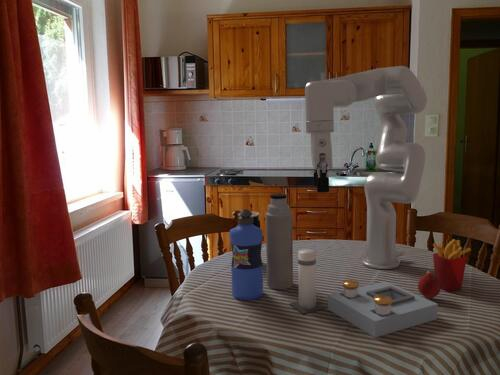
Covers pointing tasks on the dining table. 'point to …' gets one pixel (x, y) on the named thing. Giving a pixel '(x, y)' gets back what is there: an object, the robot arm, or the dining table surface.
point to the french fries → (450, 265)
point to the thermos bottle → (279, 243)
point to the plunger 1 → (350, 289)
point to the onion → (429, 286)
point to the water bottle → (246, 258)
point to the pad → (305, 311)
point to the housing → (402, 316)
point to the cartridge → (307, 278)
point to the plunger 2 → (382, 305)
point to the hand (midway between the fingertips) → (321, 188)
